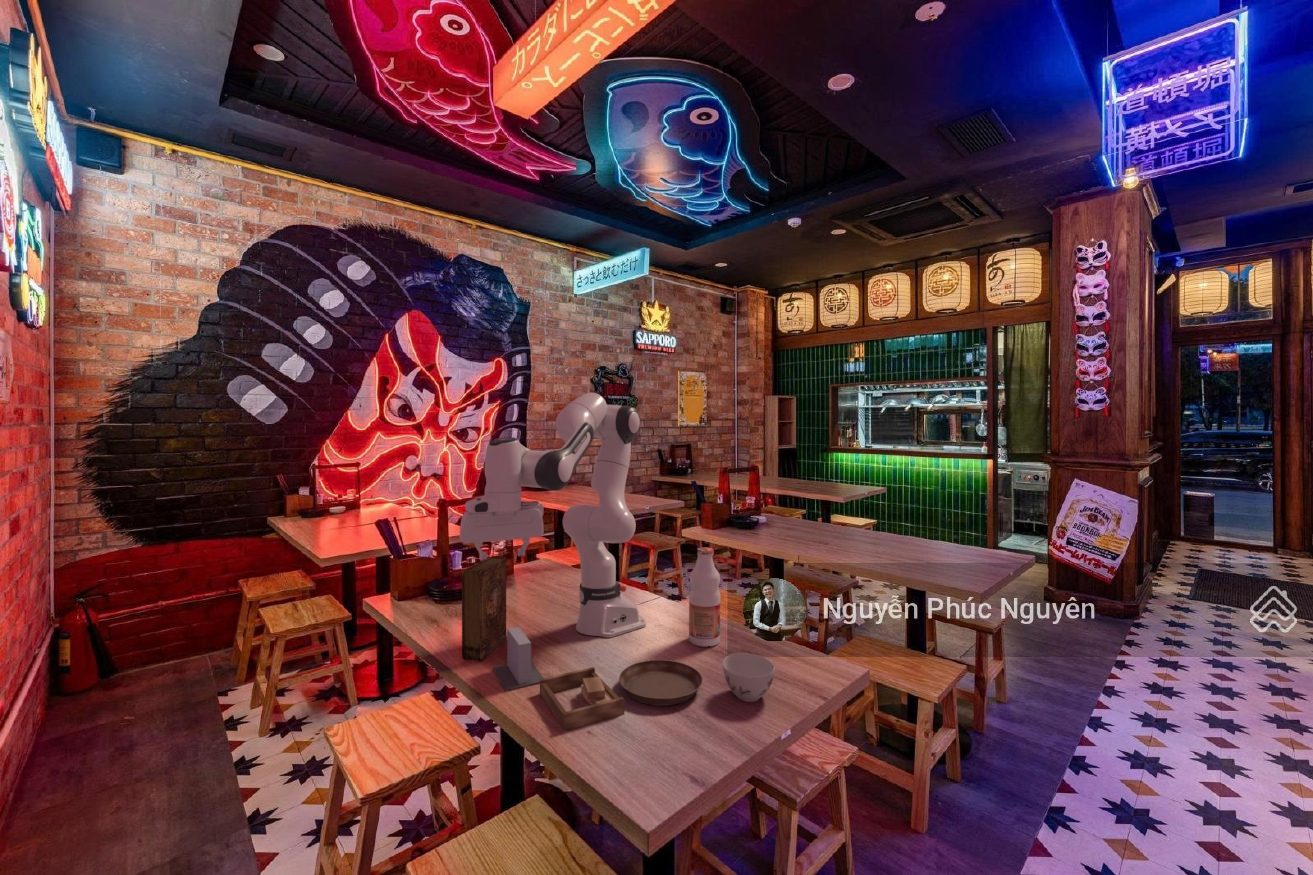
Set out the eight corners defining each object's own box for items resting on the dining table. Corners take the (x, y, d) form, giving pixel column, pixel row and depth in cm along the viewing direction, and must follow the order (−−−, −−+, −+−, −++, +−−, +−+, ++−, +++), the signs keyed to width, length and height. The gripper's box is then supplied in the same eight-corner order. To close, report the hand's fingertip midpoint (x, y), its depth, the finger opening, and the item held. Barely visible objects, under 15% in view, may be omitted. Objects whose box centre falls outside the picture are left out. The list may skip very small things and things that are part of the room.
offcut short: (599, 684, 132) (599, 676, 132) (605, 698, 125) (605, 690, 125) (583, 686, 131) (583, 678, 131) (587, 701, 124) (587, 692, 124)
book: (491, 637, 165) (491, 556, 164) (508, 639, 163) (508, 557, 163) (461, 661, 149) (461, 571, 148) (480, 663, 147) (479, 572, 147)
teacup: (748, 715, 122) (748, 680, 122) (711, 693, 132) (711, 660, 132) (792, 696, 131) (792, 663, 130) (754, 676, 141) (755, 646, 140)
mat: (529, 660, 149) (529, 659, 149) (545, 682, 137) (545, 680, 137) (492, 668, 144) (492, 666, 144) (505, 691, 132) (505, 689, 132)
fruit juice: (683, 638, 165) (683, 547, 164) (709, 633, 169) (710, 544, 168) (698, 649, 157) (699, 554, 156) (726, 644, 161) (727, 550, 160)
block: (518, 663, 147) (518, 626, 146) (531, 681, 136) (531, 642, 136) (507, 665, 145) (507, 628, 145) (519, 684, 135) (519, 645, 134)
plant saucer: (655, 663, 148) (655, 651, 148) (718, 687, 135) (718, 674, 135) (601, 692, 132) (601, 679, 132) (667, 722, 119) (667, 708, 119)
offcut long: (596, 691, 134) (596, 681, 134) (613, 709, 125) (613, 699, 125) (581, 694, 132) (581, 684, 132) (597, 714, 123) (597, 703, 123)
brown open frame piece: (593, 680, 138) (593, 666, 138) (624, 713, 122) (624, 698, 122) (539, 693, 131) (539, 679, 131) (565, 730, 115) (565, 714, 115)
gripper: (539, 498, 143) (539, 551, 143) (458, 503, 133) (458, 559, 133) (547, 501, 137) (546, 556, 137) (463, 506, 127) (462, 565, 127)
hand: (502, 557), depth 135 cm, fingers open, 8 cm apart
